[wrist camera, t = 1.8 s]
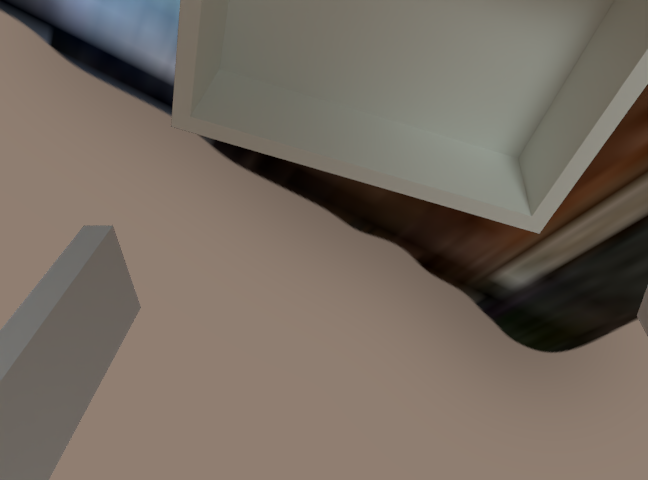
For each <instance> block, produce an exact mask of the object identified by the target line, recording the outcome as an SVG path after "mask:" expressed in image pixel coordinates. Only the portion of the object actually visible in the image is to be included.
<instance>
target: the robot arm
mask: <svg viewBox="0 0 648 480" xmlns="http://www.w3.org/2000/svg"><path fill="white" fill-rule="evenodd" d="M140 308H141V307H140V304H139V301H138V298H137V295H136V292H135V289H134V286H133V284H132V281H131V277H130V275H129V272H128V269H127V266H126V263H125V260H124V257H123V254H122V251H121V248H120V245H119V242H118V239H117V236H116V234H115V231H114V228H113V226H83V228H82V229H81V230H80V232H79V233H78V234H77V235H76V236H75V238H74V239H73V240H72V241H71V243H70V244H69V245H68V246H67V248H66V249H65V250H64V251H63V253H62V254H61V255H60V256H59V258H58V259H57V260H56V262H55V263H54V264H53V265H52V266H51V268H50V269H49V270H48V272H47V273H46V274H45V275H44V277H43V278H42V279H41V280H40V282H39V283H38V284H37V285H36V287H35V288H34V289H33V290H32V292H31V293H30V294H29V295H28V297H27V298H26V299H25V300H24V302H23V303H22V304H21V306H20V307H19V308H18V309H17V310H16V312H15V313H14V314H13V315H12V317H11V318H10V319H9V320H8V322H7V323H6V324H5V325H4V327H3V328H2V329H1V330H0V480H49V478H50V476H51V474H52V473H53V471H54V469H55V467H56V465H57V463H58V461H59V459H60V458H61V456H62V454H63V452H64V450H65V448H66V446H67V444H68V443H69V441H70V439H71V437H72V435H73V433H74V431H75V430H76V428H77V426H78V424H79V422H80V420H81V418H82V416H83V415H84V413H85V411H86V409H87V407H88V405H89V403H90V402H91V399H92V398H93V396H94V394H95V392H96V390H97V388H98V387H99V385H100V383H101V381H102V379H103V377H104V375H105V373H106V372H107V370H108V368H109V366H110V364H111V362H112V360H113V358H114V357H115V355H116V353H117V351H118V349H119V347H120V345H121V344H122V342H123V340H124V338H125V336H126V334H127V332H128V330H129V329H130V327H131V325H132V323H133V321H134V319H135V317H136V315H137V314H138V312H139V310H140ZM637 317H638V319H639V321H640V322H641V324H642V327H643V328H644V330H645V332H646V334H647V336H648V286H647V289H646V292H645V295H644V297H643V300H642V303H641V306H640V309H639V311H638V314H637Z"/></svg>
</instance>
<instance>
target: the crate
mask: <svg viewBox="0 0 648 480" xmlns="http://www.w3.org/2000/svg"><path fill="white" fill-rule="evenodd" d="M647 84H648V0H180V13H179V27H178V40H177V54H176V67H175V81H174V94H173V108H172V122H171V127H174V128H177V129H181V130H184V131H188V132H191V133H195V134H198V135H201V136H205V137H208V138H212V139H215V140H219V141H222V142H225V143H229V144H232V145H236V146H239V147H243V148H246V149H250V150H253V151H256V152H260V153H263V154H267V155H270V156H274V157H277V158H281V159H284V160H287V161H291V162H294V163H298V164H301V165H305V166H308V167H312V168H315V169H318V170H322V171H325V172H329V173H332V174H336V175H339V176H343V177H346V178H349V179H353V180H356V181H360V182H363V183H367V184H370V185H374V186H377V187H380V188H384V189H387V190H391V191H394V192H398V193H401V194H404V195H408V196H411V197H415V198H418V199H422V200H425V201H429V202H432V203H435V204H439V205H442V206H446V207H449V208H453V209H456V210H460V211H463V212H466V213H470V214H473V215H477V216H480V217H484V218H487V219H491V220H494V221H497V222H501V223H504V224H508V225H511V226H515V227H518V228H522V229H525V230H528V231H532V232H535V233H540V232H541V230H542V229H543V228H544V226H545V225H546V224H547V222H548V221H549V219H550V218H551V217H552V215H553V214H554V212H555V211H556V210H557V208H558V207H559V206H560V204H561V203H562V201H563V200H564V199H565V197H566V196H567V194H568V193H569V192H570V190H571V189H572V188H573V186H574V185H575V183H576V182H577V181H578V179H579V178H580V177H581V175H582V174H583V172H584V171H585V170H586V168H587V167H588V165H589V164H590V163H591V161H592V160H593V159H594V157H595V156H596V154H597V153H598V152H599V150H600V149H601V148H602V146H603V145H604V143H605V142H606V141H607V139H608V138H609V136H610V135H611V134H612V132H613V131H614V130H615V128H616V127H617V125H618V124H619V123H620V121H621V120H622V118H623V117H624V116H625V114H626V113H627V112H628V110H629V109H630V107H631V106H632V105H633V103H634V102H635V101H636V99H637V98H638V96H639V95H640V94H641V92H642V91H643V89H644V88H645V87H646V85H647Z"/></svg>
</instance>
